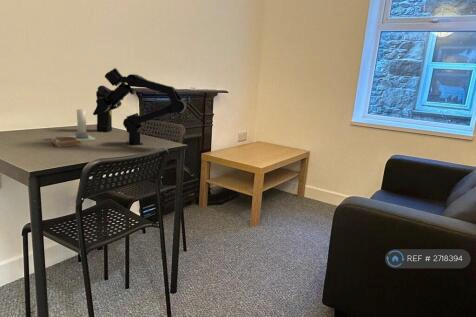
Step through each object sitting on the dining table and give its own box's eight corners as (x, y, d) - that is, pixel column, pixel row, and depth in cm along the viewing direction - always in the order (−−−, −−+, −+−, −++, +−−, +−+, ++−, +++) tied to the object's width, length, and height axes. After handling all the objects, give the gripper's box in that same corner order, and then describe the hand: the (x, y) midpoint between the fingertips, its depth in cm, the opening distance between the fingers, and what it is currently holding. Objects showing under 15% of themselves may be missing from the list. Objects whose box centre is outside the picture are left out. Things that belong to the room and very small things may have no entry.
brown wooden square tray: (80, 145, 162) (80, 140, 161) (57, 147, 155) (57, 141, 155) (74, 141, 169) (74, 136, 169) (52, 142, 163) (51, 137, 162)
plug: (87, 138, 174) (86, 111, 170) (74, 138, 172) (73, 110, 169) (89, 136, 179) (88, 109, 176) (77, 136, 178) (76, 108, 174)
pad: (95, 140, 176) (95, 138, 175) (74, 141, 169) (74, 140, 169) (89, 136, 183) (89, 135, 183) (68, 137, 176) (68, 136, 176)
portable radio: (114, 130, 203) (114, 87, 197) (109, 132, 197) (109, 88, 191) (101, 129, 204) (100, 86, 198) (96, 131, 198) (95, 86, 192)
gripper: (115, 80, 178) (94, 99, 180) (100, 80, 159) (77, 102, 162) (130, 96, 179) (109, 116, 182) (116, 99, 161) (93, 120, 164)
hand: (97, 113), depth 173 cm, fingers open, 9 cm apart
